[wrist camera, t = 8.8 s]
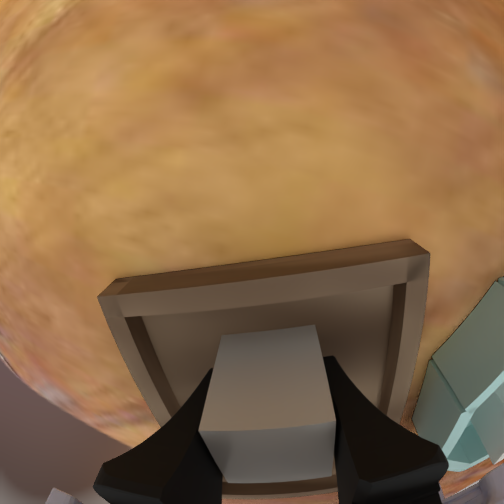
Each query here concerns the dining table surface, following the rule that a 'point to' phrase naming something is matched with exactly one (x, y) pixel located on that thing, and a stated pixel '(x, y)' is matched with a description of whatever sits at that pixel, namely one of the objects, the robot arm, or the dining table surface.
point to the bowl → (463, 382)
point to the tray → (276, 327)
